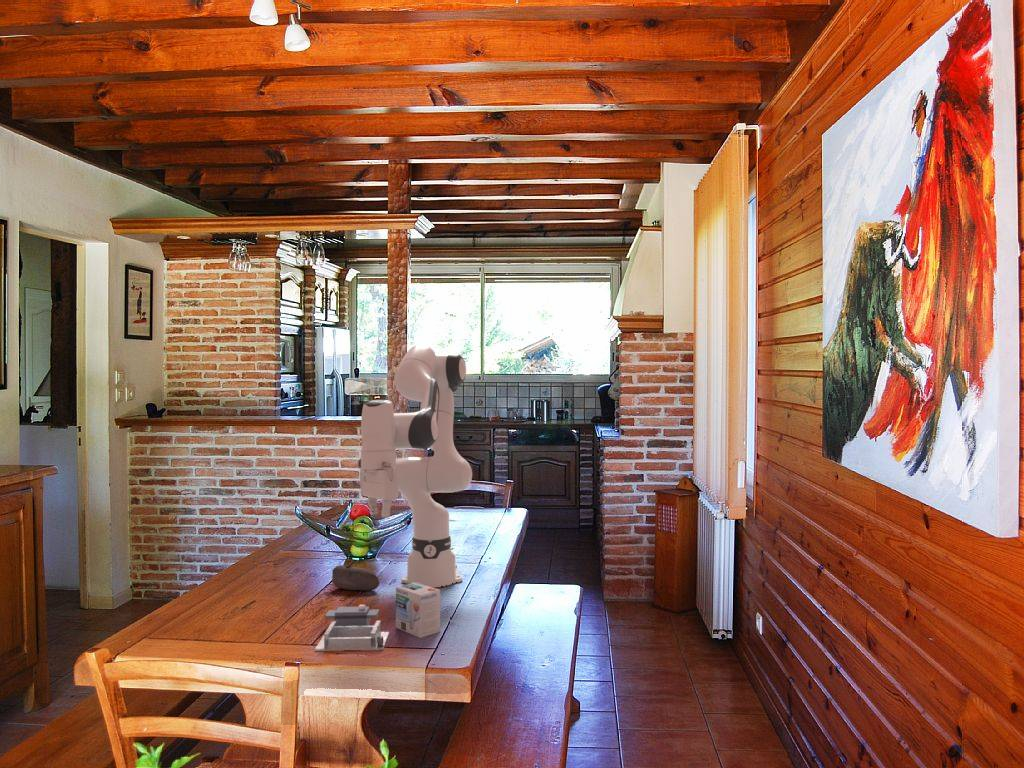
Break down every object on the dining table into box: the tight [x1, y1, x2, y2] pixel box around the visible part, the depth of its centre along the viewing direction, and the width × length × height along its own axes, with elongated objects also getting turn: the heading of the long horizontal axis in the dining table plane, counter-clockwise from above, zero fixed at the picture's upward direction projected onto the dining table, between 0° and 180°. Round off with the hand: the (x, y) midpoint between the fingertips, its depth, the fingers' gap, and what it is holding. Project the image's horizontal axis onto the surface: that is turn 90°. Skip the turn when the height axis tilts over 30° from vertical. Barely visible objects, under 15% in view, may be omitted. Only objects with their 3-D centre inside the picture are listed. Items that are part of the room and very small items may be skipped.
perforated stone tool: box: [331, 564, 380, 592], centre depth 228 cm, size 15×5×7 cm, turn 70°
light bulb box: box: [395, 582, 441, 639], centre depth 193 cm, size 11×7×11 cm, turn 45°
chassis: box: [314, 620, 390, 652], centre depth 185 cm, size 11×16×4 cm
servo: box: [324, 604, 380, 626], centre depth 195 cm, size 4×13×6 cm, turn 91°
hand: (379, 515), depth 196 cm, fingers open, 8 cm apart
